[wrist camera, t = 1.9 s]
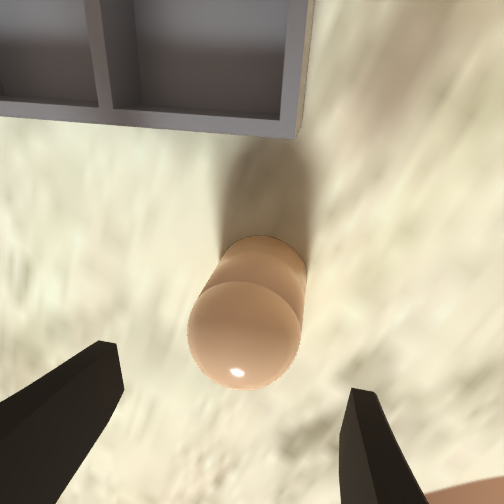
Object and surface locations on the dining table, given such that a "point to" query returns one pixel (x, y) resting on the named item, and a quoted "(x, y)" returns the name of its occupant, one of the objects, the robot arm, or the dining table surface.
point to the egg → (249, 314)
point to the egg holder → (158, 63)
